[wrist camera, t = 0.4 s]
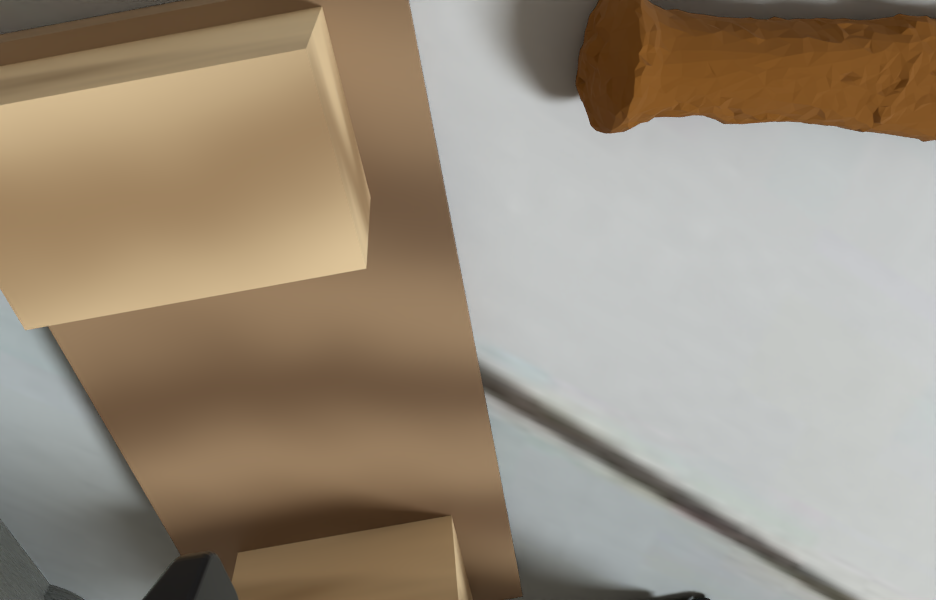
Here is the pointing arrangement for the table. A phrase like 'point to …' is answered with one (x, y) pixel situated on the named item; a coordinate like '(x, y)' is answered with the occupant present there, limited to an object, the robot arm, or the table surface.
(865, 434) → the table surface
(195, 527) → the rack
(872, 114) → the primitive tool
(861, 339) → the table surface
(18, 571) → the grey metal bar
